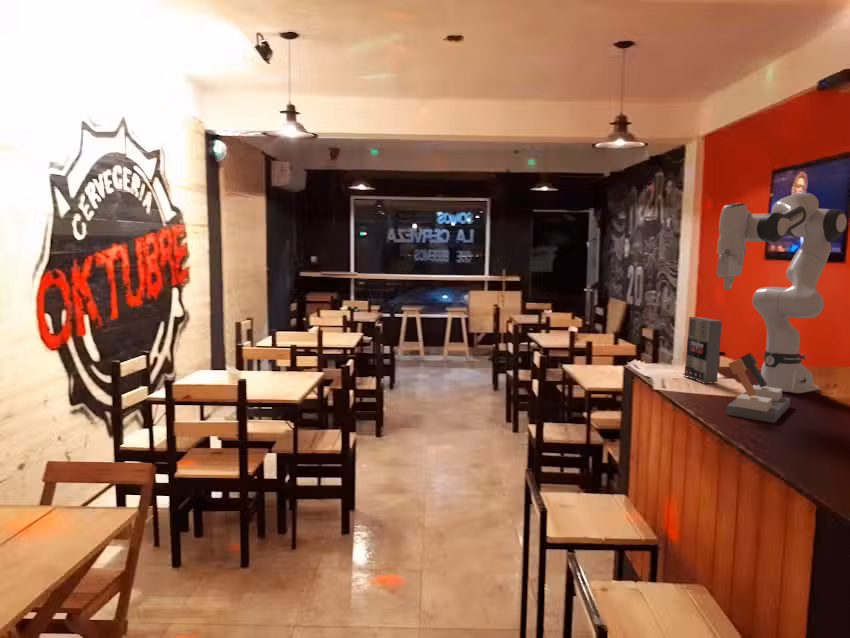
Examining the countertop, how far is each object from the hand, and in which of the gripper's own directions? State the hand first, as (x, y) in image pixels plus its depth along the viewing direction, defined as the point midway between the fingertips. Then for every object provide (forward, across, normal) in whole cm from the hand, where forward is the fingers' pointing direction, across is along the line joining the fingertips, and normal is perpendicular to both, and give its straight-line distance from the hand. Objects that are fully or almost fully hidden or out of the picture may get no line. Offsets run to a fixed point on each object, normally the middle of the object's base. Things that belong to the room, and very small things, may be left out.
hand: (727, 289), depth 228 cm
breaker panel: (+39, -12, -15) cm, 44 cm away
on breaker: (+32, -3, -15) cm, 36 cm away
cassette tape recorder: (+39, +26, +14) cm, 49 cm away
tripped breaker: (+33, -20, -15) cm, 42 cm away
